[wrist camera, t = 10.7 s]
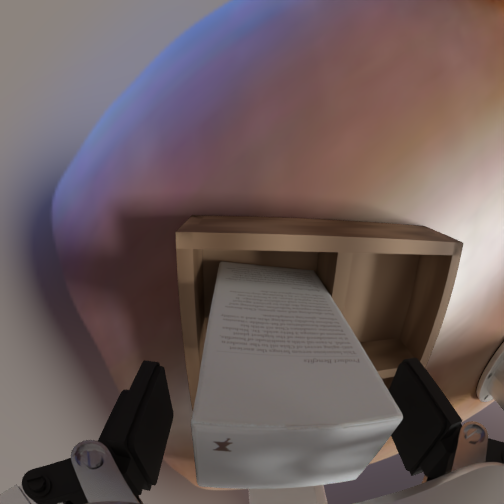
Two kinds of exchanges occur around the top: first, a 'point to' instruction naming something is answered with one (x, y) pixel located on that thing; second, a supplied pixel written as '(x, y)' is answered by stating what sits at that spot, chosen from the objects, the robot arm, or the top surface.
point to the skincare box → (284, 386)
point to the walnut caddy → (328, 278)
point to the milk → (288, 495)
